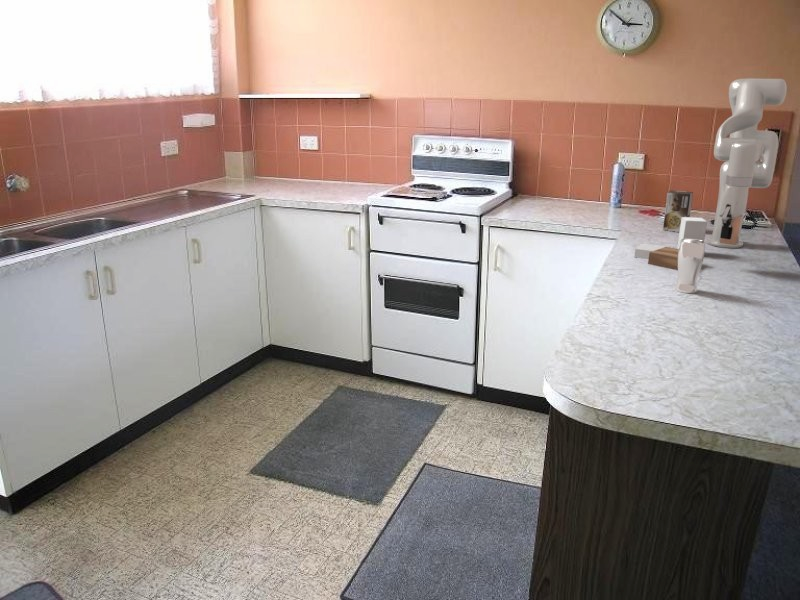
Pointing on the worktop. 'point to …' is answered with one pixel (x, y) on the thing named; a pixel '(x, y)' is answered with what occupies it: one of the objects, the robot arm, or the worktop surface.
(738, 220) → the glossy peach capsule
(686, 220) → the supplement box
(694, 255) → the beer glass
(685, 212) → the coffee box
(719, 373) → the worktop surface
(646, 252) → the white plinth
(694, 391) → the worktop surface
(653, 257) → the walnut plinth
